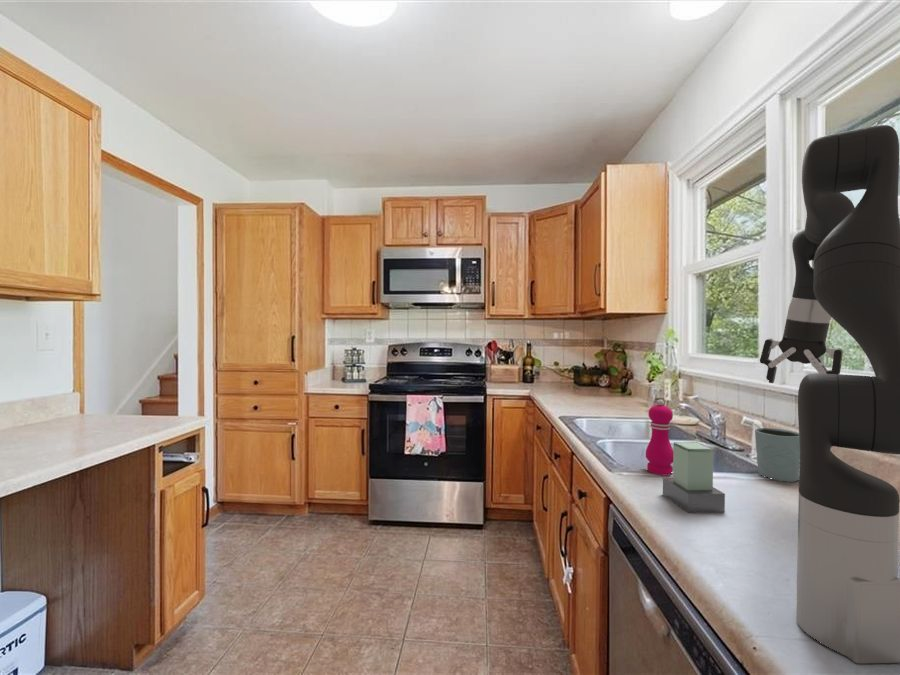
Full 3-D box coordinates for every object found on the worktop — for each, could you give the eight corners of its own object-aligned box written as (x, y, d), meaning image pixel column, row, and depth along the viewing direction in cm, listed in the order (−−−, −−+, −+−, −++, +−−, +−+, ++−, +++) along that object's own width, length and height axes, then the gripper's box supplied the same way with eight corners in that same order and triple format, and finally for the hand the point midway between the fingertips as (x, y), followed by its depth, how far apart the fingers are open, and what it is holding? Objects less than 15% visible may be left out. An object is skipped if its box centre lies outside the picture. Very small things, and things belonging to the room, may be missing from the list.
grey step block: (724, 512, 89) (725, 475, 89) (688, 512, 89) (688, 475, 89) (695, 494, 99) (696, 460, 99) (662, 494, 99) (663, 460, 99)
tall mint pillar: (712, 489, 91) (713, 449, 91) (687, 490, 91) (688, 449, 91) (696, 480, 97) (697, 442, 97) (673, 480, 97) (673, 442, 97)
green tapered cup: (779, 484, 106) (780, 437, 106) (744, 471, 116) (745, 428, 116) (811, 481, 108) (812, 435, 108) (774, 468, 118) (775, 426, 118)
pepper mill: (680, 474, 113) (681, 400, 113) (661, 477, 111) (661, 402, 110) (658, 466, 120) (659, 396, 120) (639, 469, 117) (640, 398, 117)
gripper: (765, 315, 97) (753, 382, 100) (848, 324, 87) (832, 398, 90) (773, 313, 102) (761, 377, 105) (852, 321, 92) (836, 392, 95)
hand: (793, 387), depth 98 cm, fingers open, 8 cm apart
